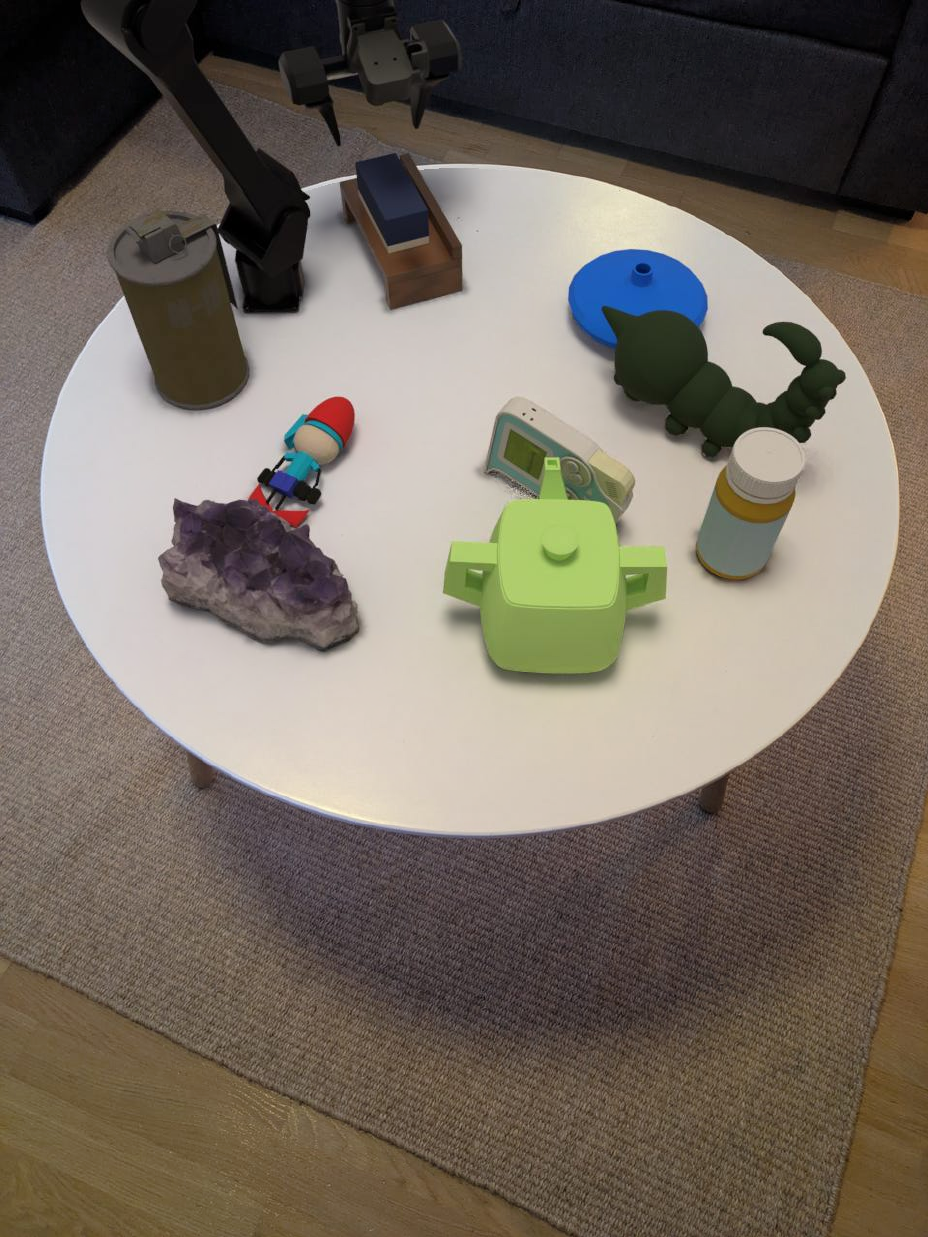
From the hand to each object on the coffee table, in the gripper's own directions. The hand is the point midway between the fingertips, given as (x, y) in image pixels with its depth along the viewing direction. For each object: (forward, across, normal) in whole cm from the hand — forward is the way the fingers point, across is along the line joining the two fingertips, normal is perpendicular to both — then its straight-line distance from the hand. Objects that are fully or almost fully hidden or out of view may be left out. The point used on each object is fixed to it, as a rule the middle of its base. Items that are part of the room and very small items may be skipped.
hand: (377, 135), depth 114 cm
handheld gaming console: (+12, +4, -46) cm, 48 cm away
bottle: (+12, +17, -58) cm, 62 cm away
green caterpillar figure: (+12, +21, -42) cm, 49 cm away
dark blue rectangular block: (+7, 0, -5) cm, 9 cm away
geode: (+12, -26, -47) cm, 56 cm away
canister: (+12, -26, -17) cm, 34 cm away
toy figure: (+12, -19, -34) cm, 41 cm away
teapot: (+12, -1, -57) cm, 59 cm away
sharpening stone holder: (+12, 0, -5) cm, 13 cm away
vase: (+12, +22, -25) cm, 36 cm away
